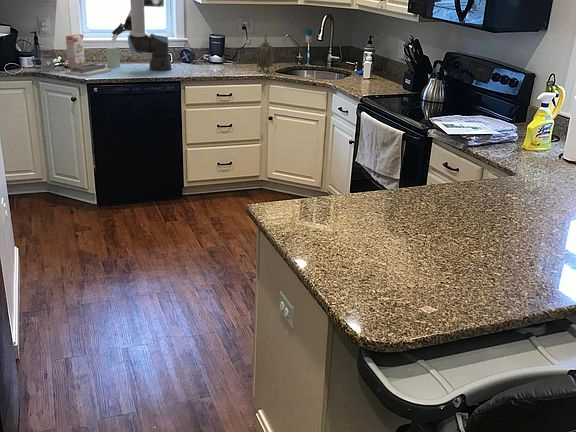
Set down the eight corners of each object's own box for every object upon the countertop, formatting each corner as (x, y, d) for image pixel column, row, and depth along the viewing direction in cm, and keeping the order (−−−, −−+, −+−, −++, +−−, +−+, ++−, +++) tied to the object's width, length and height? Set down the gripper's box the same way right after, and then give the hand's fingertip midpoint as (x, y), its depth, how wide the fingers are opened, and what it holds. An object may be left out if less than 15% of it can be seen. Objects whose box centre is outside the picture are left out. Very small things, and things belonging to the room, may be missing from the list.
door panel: (120, 66, 436) (119, 47, 431) (112, 67, 428) (111, 48, 423) (115, 65, 437) (114, 46, 432) (107, 67, 429) (106, 48, 424)
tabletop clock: (261, 69, 447) (262, 33, 438) (273, 70, 446) (274, 34, 437) (256, 72, 434) (257, 35, 425) (269, 73, 433) (270, 36, 423)
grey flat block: (111, 71, 416) (110, 64, 415) (88, 76, 396) (87, 69, 394) (89, 68, 422) (88, 62, 421) (65, 73, 401) (64, 66, 400)
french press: (39, 69, 410) (35, 30, 401) (57, 68, 416) (54, 29, 406) (41, 71, 402) (37, 31, 393) (60, 71, 408) (56, 31, 398)
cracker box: (76, 68, 420) (73, 36, 412) (67, 67, 421) (64, 35, 413) (85, 65, 433) (83, 34, 425) (77, 64, 434) (74, 33, 426)
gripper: (149, 24, 442) (138, 48, 435) (119, 21, 450) (108, 45, 443) (144, 17, 435) (133, 41, 428) (114, 14, 443) (103, 38, 436)
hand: (120, 43), depth 435 cm, fingers open, 13 cm apart
